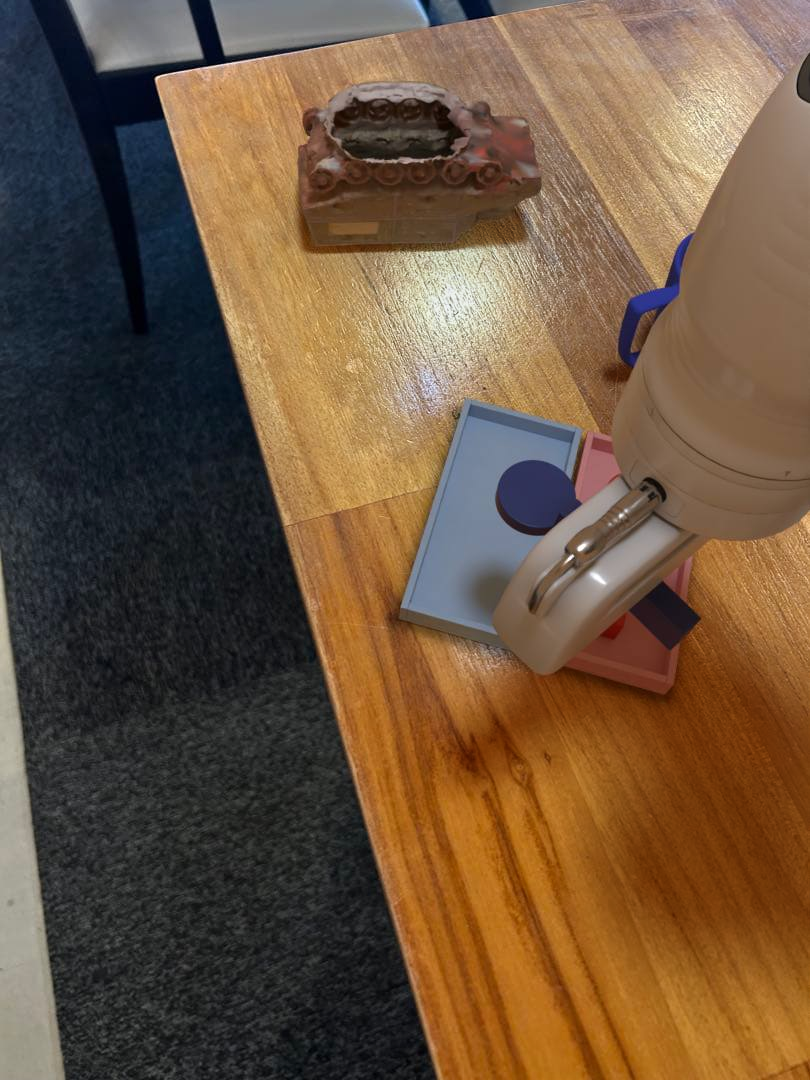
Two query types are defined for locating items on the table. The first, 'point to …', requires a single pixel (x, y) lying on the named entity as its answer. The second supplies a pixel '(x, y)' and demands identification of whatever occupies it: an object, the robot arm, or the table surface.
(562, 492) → the blue spoon
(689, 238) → the mug
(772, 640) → the table surface
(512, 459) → the blue tray
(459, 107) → the decorative box
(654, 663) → the pink tray
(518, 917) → the table surface
